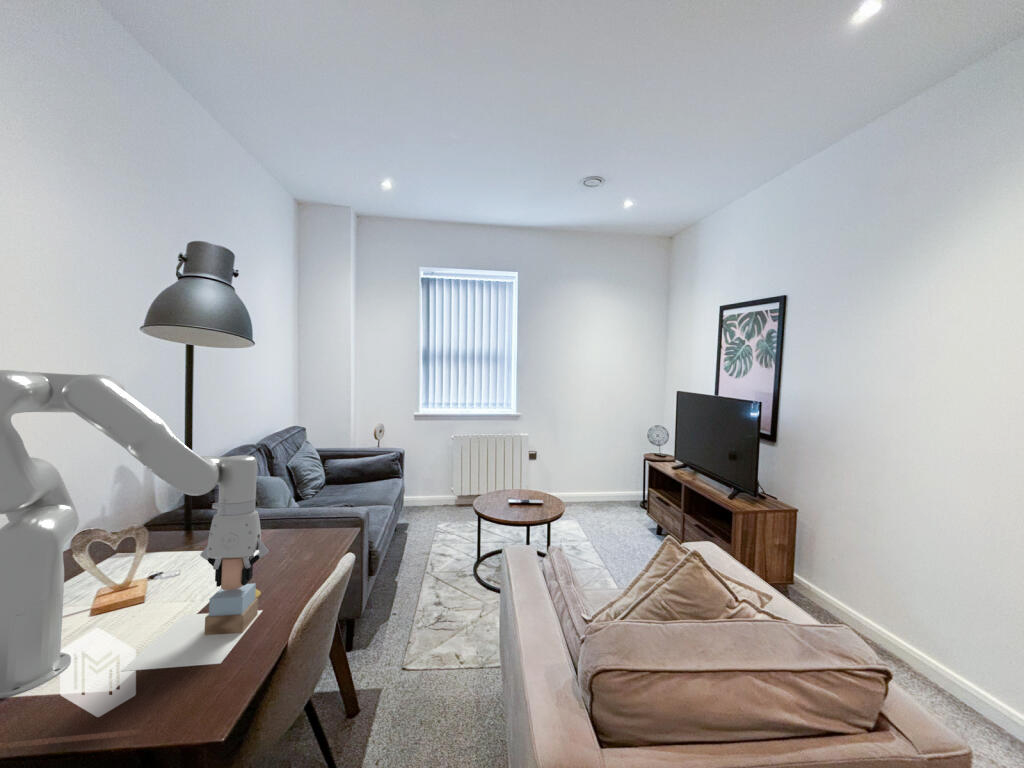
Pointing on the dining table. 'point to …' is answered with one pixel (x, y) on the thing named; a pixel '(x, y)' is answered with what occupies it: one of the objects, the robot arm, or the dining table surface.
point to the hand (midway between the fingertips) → (233, 582)
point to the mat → (186, 646)
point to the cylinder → (232, 573)
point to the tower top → (232, 601)
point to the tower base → (231, 621)
